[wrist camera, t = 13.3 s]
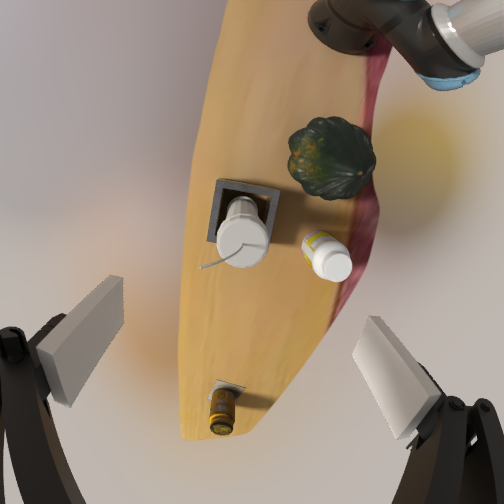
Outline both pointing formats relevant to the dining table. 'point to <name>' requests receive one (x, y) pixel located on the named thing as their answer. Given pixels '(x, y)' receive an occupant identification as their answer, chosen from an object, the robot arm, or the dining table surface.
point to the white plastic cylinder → (242, 235)
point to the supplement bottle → (327, 256)
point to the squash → (331, 158)
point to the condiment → (223, 407)
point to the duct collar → (245, 187)
